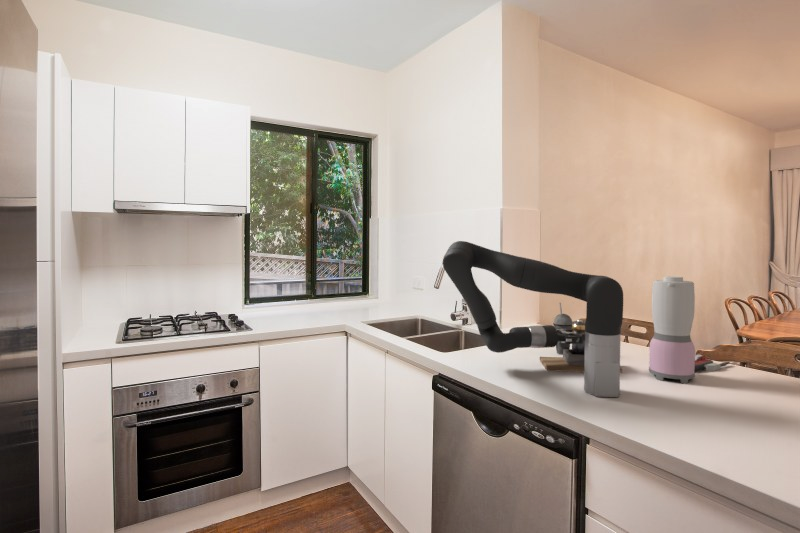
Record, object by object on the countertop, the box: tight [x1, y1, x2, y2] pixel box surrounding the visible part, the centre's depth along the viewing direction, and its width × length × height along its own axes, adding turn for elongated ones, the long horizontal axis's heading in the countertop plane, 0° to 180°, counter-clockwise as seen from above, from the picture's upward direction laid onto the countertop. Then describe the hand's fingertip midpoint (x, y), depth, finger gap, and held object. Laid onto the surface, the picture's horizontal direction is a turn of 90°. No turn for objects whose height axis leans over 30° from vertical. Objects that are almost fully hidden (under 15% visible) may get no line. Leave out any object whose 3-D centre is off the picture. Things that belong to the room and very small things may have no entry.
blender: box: [648, 275, 696, 384], centre depth 134 cm, size 16×12×32 cm
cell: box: [571, 319, 585, 355], centre depth 145 cm, size 5×5×15 cm
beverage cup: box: [553, 302, 573, 356], centre depth 163 cm, size 7×7×20 cm
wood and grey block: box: [539, 348, 623, 374], centre depth 145 cm, size 12×24×8 cm, turn 82°
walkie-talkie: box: [694, 353, 731, 373], centre depth 144 cm, size 9×4×20 cm
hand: (584, 334), depth 145 cm, fingers open, 8 cm apart
